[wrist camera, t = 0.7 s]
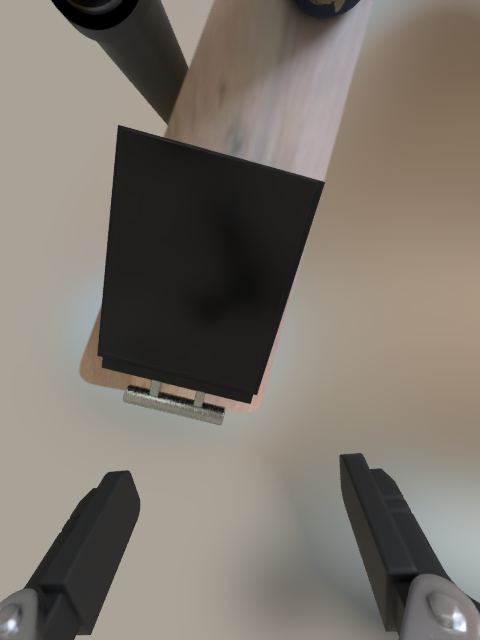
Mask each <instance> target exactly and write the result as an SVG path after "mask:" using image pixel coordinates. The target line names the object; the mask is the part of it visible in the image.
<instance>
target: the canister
mask: <svg viewBox="0 0 480 640" xmlns="http://www.w3.org/2000/svg"><path fill="white" fill-rule="evenodd" d="M293 1H294V3H295V4H296V5H297V6H298V7H299V8H300V9H301V10H302V11H304V12H305V13H307V14H309V15H311V16H314V17H318V18H331V17H335V16H338V15H341V14H343V13H345V12H347V11H348V10H350V9H351V8H352V7H354V6H355V5H356V4H357V3H358V2H359V1H360V0H293Z"/></svg>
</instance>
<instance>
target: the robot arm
mask: <svg viewBox="0 0 480 640" xmlns="http://www.w3.org/2000/svg"><path fill="white" fill-rule="evenodd" d="M66 1H67V2H68V3H69V4H70V5H72V6H73V7H74V8H76V9H77V10H79V11H81V12H84V13H87V14H91V15H101V14H105V13H108V12H110V11H112V10H113V9H115V8H116V7H117V6H118V5H119V4H120V3H121V2H122V1H123V0H66ZM340 478H341V491H342V496H343V500H344V504H345V508H346V511H347V514H348V517H349V520H350V523H351V526H352V529H353V532H354V535H355V538H356V541H357V544H358V548H359V551H360V553H361V557H362V559H363V563H364V566H365V569H366V572H367V575H368V578H369V581H370V584H371V587H372V590H373V594H374V597H375V600H376V603H377V606H378V609H379V612H380V615H381V618H382V621H383V624H384V627H385V630H386V631H397V632H398V635H399V640H480V603H478V602H477V601H475V600H473V599H472V598H471V597H469V596H468V595H467V594H465V593H464V592H463V591H462V590H461V589H459V587H457V586H456V585H455V583H454V582H452V580H451V579H450V578H449V576H448V575H447V574H446V572H445V571H444V569H443V567H442V565H441V564H440V562H439V560H438V558H437V557H436V555H435V553H434V551H433V550H432V548H431V546H430V544H429V542H428V540H427V538H426V537H425V535H424V533H423V531H422V529H421V528H420V526H419V524H418V522H417V521H416V519H415V517H414V515H413V514H412V513H411V510H410V508H409V506H408V504H407V502H406V501H405V500H404V498H403V495H402V493H401V492H400V490H399V488H398V486H397V485H396V483H395V481H394V480H393V479H392V478H391V477H390V476H389V475H388V474H386V473H385V472H384V471H383V470H382V469H369V467H368V465H367V463H366V460H365V458H364V457H363V455H362V454H361V453H356V454H343V455H340ZM139 512H140V498H139V495H138V492H137V490H136V487H135V484H134V481H133V478H132V475H131V473H130V471H128V470H127V471H114V472H108V473H107V474H106V475H105V476H104V478H103V479H102V481H101V483H100V484H99V486H98V487H97V488H93V489H92V490H91V491H90V492H89V493H88V494H87V495H86V496H85V497H84V498H83V499H82V500H81V501H80V502H79V504H78V505H77V507H76V508H75V510H74V511H73V513H72V514H71V516H70V519H69V520H68V521H67V522H66V524H65V525H64V527H63V529H62V532H61V533H59V535H58V536H57V538H56V539H55V541H54V542H53V544H52V546H51V547H50V549H49V550H48V552H47V553H46V555H45V556H44V558H43V560H42V561H41V563H40V565H39V566H38V567H37V569H36V570H35V572H34V574H33V575H32V577H31V578H30V580H29V581H28V583H27V584H26V586H25V587H24V588H23V589H22V590H20V591H17V592H15V593H13V594H11V595H10V596H8V597H7V598H6V599H4V600H3V601H2V602H1V603H0V640H74V639H75V636H76V635H91V633H92V630H93V628H94V626H95V623H96V621H97V618H98V616H99V613H100V611H101V608H102V606H103V603H104V601H105V598H106V596H107V593H108V591H109V588H110V586H111V584H112V581H113V578H114V576H115V574H116V571H117V569H118V566H119V564H120V561H121V559H122V556H123V554H124V551H125V549H126V547H127V544H128V542H129V539H130V537H131V534H132V531H133V529H134V527H135V524H136V522H137V519H138V516H139Z"/></svg>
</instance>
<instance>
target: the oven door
mask: <svg viewBox="0 0 480 640" xmlns="http://www.w3.org/2000/svg"><path fill="white" fill-rule="evenodd" d="M102 368H106V369H110V370H114V371H118V372H122V373H126V374H130V375H134V376H138V377H142V378H146V379H150V380H152V382H151V388H150V389H148V388H143V387H139V386H135V385H129V386H128V387H127V389H126V391H125V393H124V397H123V401H124V402H126V403H130V404H134V405H138V406H142V407H147V408H151V409H155V410H159V411H163V412H167V413H172V414H176V415H180V416H184V417H188V418H192V419H196V420H201V421H205V422H209V423H213V424H217V425H221V424H222V421H223V417H224V413H225V407H221V406H217V405H213V404H209V403H205V402H203V401H204V397H205V393H207V394H212V395H216V396H220V397H224V398H228V399H232V400H236V401H240V402H244V403H248V404H250V403H251V401H252V397H253V394H250V393H246V392H242V391H238V390H234V389H230V388H226V387H222V386H218V385H214V384H210V383H206V382H202V381H198V380H193V379H189V378H185V377H181V376H177V375H173V374H169V373H165V372H161V371H157V370H153V369H149V368H145V367H141V366H137V365H133V364H129V363H125V362H120V361H116V360H112V359H108V358H104V357H103V360H102ZM162 382H163V383H167V384H171V385H175V386H179V387H183V388H187V389H191V390H195V391H196V395H195V399H194V400H193V399H188V398H184V397H180V396H176V395H172V394H168V393H164V392H161V387H162Z"/></svg>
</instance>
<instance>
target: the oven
mask: <svg viewBox="0 0 480 640" xmlns="http://www.w3.org/2000/svg"><path fill="white" fill-rule="evenodd" d="M115 154H116V155H115V164H114V176H113V187H112V198H111V210H110V220H109V232H108V243H107V253H106V265H105V276H104V287H103V298H102V309H101V320H100V331H99V343H98V354H97V356H100V357H104V358H108V359H112V360H116V361H120V362H125V363H129V364H133V365H137V366H141V367H145V368H149V369H153V370H157V371H161V372H165V373H169V374H173V375H177V376H181V377H185V378H189V379H193V380H198V381H202V382H206V383H210V384H214V385H218V386H222V387H226V388H230V389H234V390H238V391H242V392H246V393H250V394H254V395H257V393H258V390H259V387H260V384H261V381H262V378H263V375H264V371H265V368H266V365H267V362H268V359H269V356H270V353H271V350H272V346H273V343H274V340H275V337H276V334H277V331H278V328H279V325H280V321H281V318H282V315H283V312H284V309H285V306H286V303H287V300H288V296H289V293H290V290H291V287H292V284H293V281H294V278H295V275H296V272H297V268H298V265H299V262H300V259H301V256H302V253H303V250H304V247H305V243H306V240H307V237H308V234H309V231H310V228H311V225H312V222H313V218H314V215H315V212H316V209H317V206H318V203H319V200H320V197H321V193H322V190H323V187H324V184H325V182H323V181H319V180H316V179H312V178H309V177H305V176H301V175H298V174H294V173H290V172H287V171H283V170H280V169H276V168H272V167H269V166H265V165H262V164H258V163H254V162H251V161H247V160H243V159H240V158H236V157H233V156H229V155H225V154H222V153H218V152H214V151H211V150H207V149H204V148H200V147H196V146H193V145H189V144H186V143H182V142H178V141H175V140H171V139H167V138H164V137H160V136H157V135H153V134H149V133H146V132H142V131H138V130H135V129H131V128H127V127H124V126H120V125H118V132H117V142H116V153H115Z"/></svg>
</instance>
